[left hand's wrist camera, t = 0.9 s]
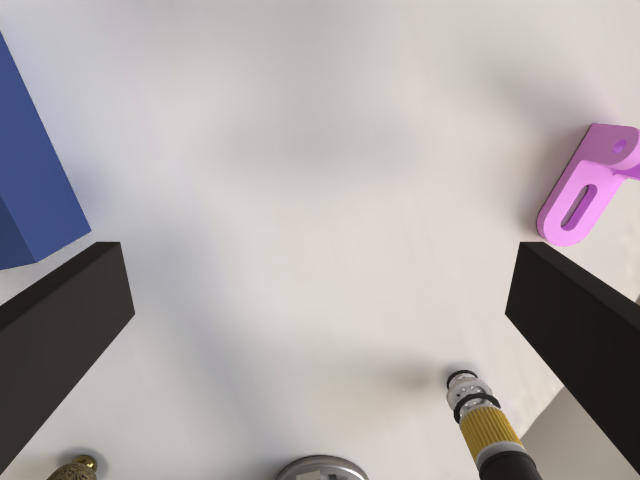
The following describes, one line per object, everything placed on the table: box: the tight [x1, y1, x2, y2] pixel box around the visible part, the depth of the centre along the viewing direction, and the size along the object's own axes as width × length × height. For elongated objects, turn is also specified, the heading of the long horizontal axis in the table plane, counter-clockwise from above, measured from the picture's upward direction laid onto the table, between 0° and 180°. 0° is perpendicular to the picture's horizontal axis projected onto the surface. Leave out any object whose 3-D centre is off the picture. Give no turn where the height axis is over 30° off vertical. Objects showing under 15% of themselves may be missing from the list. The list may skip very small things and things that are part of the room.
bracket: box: [537, 123, 640, 246], centre depth 38 cm, size 13×6×7 cm, turn 160°
